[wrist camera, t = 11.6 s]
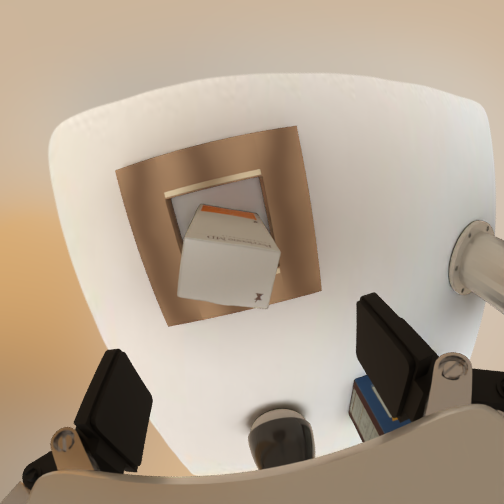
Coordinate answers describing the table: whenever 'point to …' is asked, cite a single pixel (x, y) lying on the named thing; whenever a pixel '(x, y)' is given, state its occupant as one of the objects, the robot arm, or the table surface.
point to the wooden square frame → (210, 175)
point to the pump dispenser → (281, 439)
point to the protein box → (370, 411)
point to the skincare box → (228, 259)
